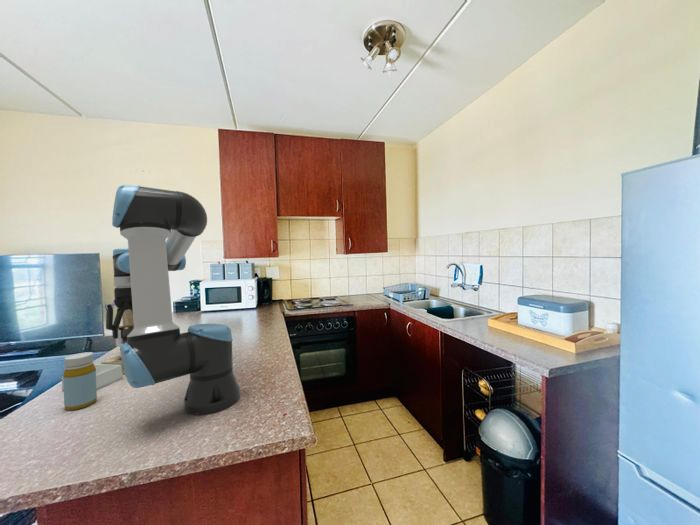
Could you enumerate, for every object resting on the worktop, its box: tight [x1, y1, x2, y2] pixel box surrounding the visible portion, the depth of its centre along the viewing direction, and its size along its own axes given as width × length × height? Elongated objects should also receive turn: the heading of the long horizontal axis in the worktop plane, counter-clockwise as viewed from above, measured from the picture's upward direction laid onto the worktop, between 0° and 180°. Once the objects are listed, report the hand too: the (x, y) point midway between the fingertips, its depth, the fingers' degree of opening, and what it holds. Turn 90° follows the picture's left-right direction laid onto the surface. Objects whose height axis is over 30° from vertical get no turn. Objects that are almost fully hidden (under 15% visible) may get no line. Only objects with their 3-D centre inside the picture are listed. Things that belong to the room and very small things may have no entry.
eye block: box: [100, 355, 125, 375], centre depth 112 cm, size 12×12×4 cm
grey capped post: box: [118, 323, 134, 345], centre depth 112 cm, size 6×6×16 cm
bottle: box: [62, 351, 98, 411], centre depth 83 cm, size 7×7×15 cm
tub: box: [61, 363, 123, 392], centre depth 97 cm, size 11×11×5 cm
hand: (128, 343), depth 112 cm, fingers closed on grey capped post, 6 cm apart
